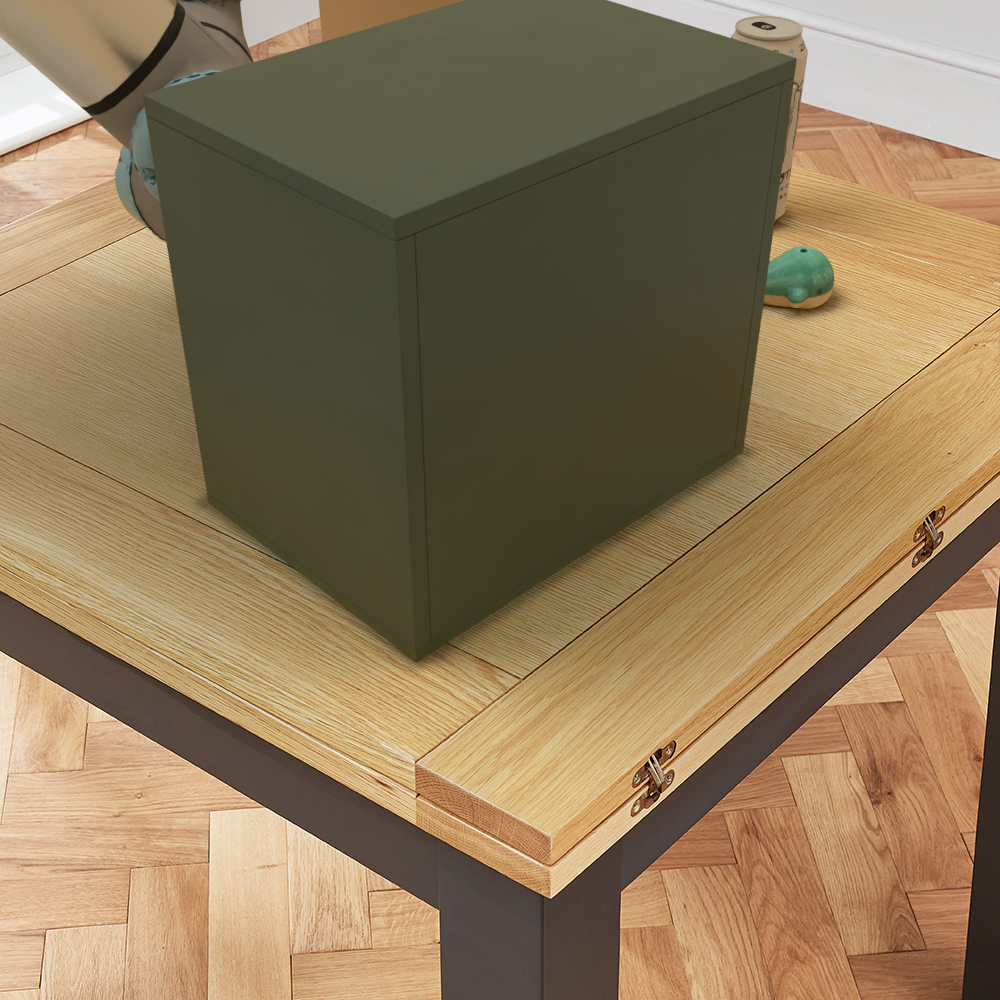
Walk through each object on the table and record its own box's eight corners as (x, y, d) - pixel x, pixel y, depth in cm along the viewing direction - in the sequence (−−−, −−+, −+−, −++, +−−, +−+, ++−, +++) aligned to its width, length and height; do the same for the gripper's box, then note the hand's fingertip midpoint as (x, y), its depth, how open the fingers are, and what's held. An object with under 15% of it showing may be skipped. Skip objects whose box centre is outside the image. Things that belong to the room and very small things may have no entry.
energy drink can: (747, 241, 103) (772, 46, 94) (691, 214, 107) (709, 24, 98) (799, 220, 106) (828, 28, 97) (743, 194, 110) (766, 7, 101)
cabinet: (208, 505, 77) (141, 94, 62) (531, 343, 91) (537, -22, 77) (416, 666, 67) (394, 218, 52) (743, 455, 81) (797, 57, 66)
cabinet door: (406, 182, 112) (393, -127, 97) (597, 312, 94) (615, -40, 80) (333, 202, 109) (309, -114, 94) (517, 339, 91) (521, -21, 77)
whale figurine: (843, 315, 94) (852, 266, 92) (744, 325, 93) (750, 276, 91) (812, 276, 99) (819, 229, 97) (716, 286, 98) (722, 238, 96)
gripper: (402, 254, 90) (670, 391, 77) (182, 347, 81) (443, 522, 67) (397, 147, 86) (680, 273, 72) (163, 233, 76) (439, 395, 63)
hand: (565, 392), depth 70 cm, fingers closed on candy box, 4 cm apart
